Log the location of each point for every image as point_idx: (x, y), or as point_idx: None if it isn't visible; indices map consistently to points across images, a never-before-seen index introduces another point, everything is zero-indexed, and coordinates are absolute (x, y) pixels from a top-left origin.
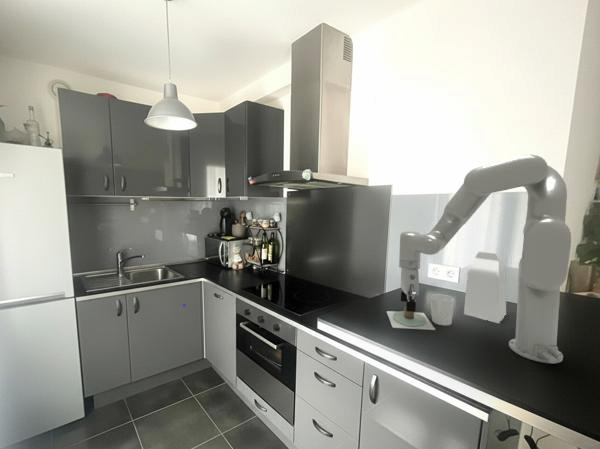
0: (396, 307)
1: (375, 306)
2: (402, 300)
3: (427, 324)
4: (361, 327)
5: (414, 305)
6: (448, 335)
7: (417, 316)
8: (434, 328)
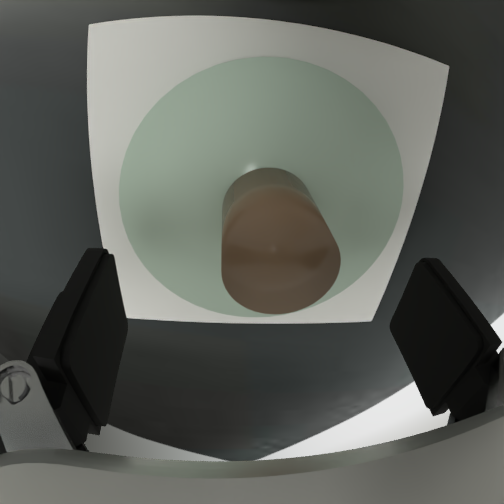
0: (13, 231)
1: None
2: (123, 326)
3: (366, 76)
4: (327, 405)
5: (466, 313)
6: (488, 23)
7: (244, 123)
8: (431, 60)
